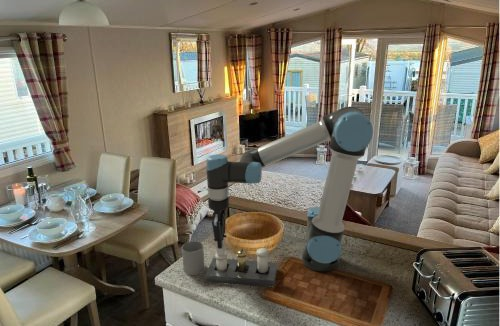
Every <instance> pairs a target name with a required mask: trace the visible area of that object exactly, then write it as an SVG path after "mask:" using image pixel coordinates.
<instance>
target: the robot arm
mask: <svg viewBox="0 0 500 326" xmlns="http://www.w3.org/2000/svg"><path fill="white" fill-rule="evenodd" d="M369 118H370V117H368V116H367V115H366V114H364V112H363V111H362V110H361V109H360V108H358V107H356V106H345V107H341V108H339V109H337V110H335V111H333V112H330V113H329V114H327V115H324V116H323V117H321V118H320V120H319V121H318V122H317V121H316V122H315V123H314V124H313V123H312V124H310V125H308V126H306V127H304V128H302V129H299V130H297V131H295V132H292V133H290V134H288V135H284V136H283V137H280V138H278V139H275V140H274V141H271V142H269V143H267V144H264V145H261V146H260V147H258V148H255V149H248V150H246V151H244V153H243V154H242V155H241V158H240V159H239V160H238V161H229V160H228V156H227V155H225V154H219V153H218V154H212V155H209V156H208V157H207V158H206V168H205V169H206V170H205V171H206V180H207V181H206V183H207V187H206V191H207V197H208V199H207V201H208V203H207V204H208V205H207V206H208V208H209V209H210V210H212V211H213V212H212V218H213V220H211V226H212V230H213V231H212V232H213V238H214V239H213V240H214V242H216V253H217V255H224V254H225V252H226V248H225V246H226V245H225V238H227V234H226V232H227V231H226V227H227V225H226V220H227V219H226V218H227V214H226V213H227V209H228V208H229V206H230V198H229V196H230V193H229V183H230V184H231V183H234V184H249V185H252V184H260V183H261V180H262V174H263V173H262V172H263V171H262V169H263V168H264V167H267V166H270V165H272V164H274V163H277V162H278V161H281V160H283V159H286V158H289V157H291V156H294V155H296V154H298V153H301V152H304V151H307V150H308V149H310V148H313V147H316V146H318V145H321V144H323V143H325V142H329V145H328V149H329V150H330V152H331V158H330V161H329V166H328V169H327V174H326V178H325V183H324V186H323V191H322V196H321V201H320V204H319V206H315V207H311V208H309V209H308V210H307V215H306V218H307V219H306V220H307V222H306V223H307V224H306V227H307V228H306V244H305V247H304V249H303V251H302V254H301V263H302V264H303V265H304V266H305V267H306V268H308V269H310V270H313V271H317V272H331V271H334V270H336V269H337V268H338V267H339V266H340V260H341V258H340V256H341V253H342V248H343V247H342V239H343V236H344V232H345V225H344V223H343V222H342V221H343V217H344V215H345V211H346V207H347V203H348V199H349V195H350V191H351V187H352V184H353V180H354V176H355V172H356V168H357V165H358V161H359V159H361V158H362V157H364V156H365V154H366V149H367V147H368V146H369V144H370V143H371V141H372V139H373V135H374V129H373V125H372V122H371V120H370V119H369Z"/></svg>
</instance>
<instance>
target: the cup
mask: <svg viewBox="0 0 500 326" xmlns="http://www.w3.org/2000/svg"><path fill="white" fill-rule="evenodd" d="M204 252H205V251H204V244H203V243H202V242H201V241H197V240H196V241H195V240H194V241H193V240H192V241H187V242H185V243H183V245H182V246H181V254H182V255H181V257H182V267H183V273H185V275H186V274H187V275H190V276H191V275H192V276H194V275H199V274H201V273H203V272H204V270H205V268H206V267H205V256H204V255H205V253H204Z"/></svg>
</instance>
